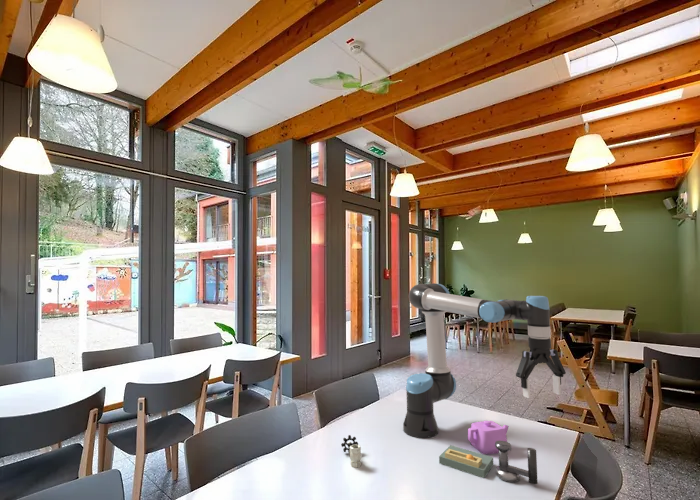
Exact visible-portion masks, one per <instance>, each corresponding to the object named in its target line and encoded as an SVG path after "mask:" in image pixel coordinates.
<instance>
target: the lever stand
mask: <svg viewBox="0 0 700 500" xmlns="http://www.w3.org/2000/svg"><path fill="white" fill-rule="evenodd" d="M438 459H439V460H438V463H439V465H442V466H445V467H449V468H452V469H454V470H458V471H462V472H464V473H468V474H471V475H472V476H477V477H480V478H483V479H485V478H486V476H487V475H488V473H490V470H491V469H492V467H493V466H494V457H493V456H490V455H488V454H482V453H481V452H476V451H472V450H469V449H465V448H462V447H458V446H455V445H451V444H450V445H449V446H448V447H447V448H445V450H444V451H443V452H442V453H441V454H440V455H439V456H438Z"/></svg>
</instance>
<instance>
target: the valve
mask: <svg viewBox="0 0 700 500" xmlns="http://www.w3.org/2000/svg"><path fill="white" fill-rule="evenodd" d="M342 439H343V442H342V443H341V444H340V445H341V447H342V448H343V447H344V448H343V451H342V452H343V453H346V452H348V454H349V459H350V467H351V468H354V469H355V468H359V467H361V466H362V465H361V464H362V463H361V461H362V451H361V450H362V447H361V445H360V444H359V443H358V441H356V440H357V438H356V436H351V434H348V436H347V438H346V437H343V438H342ZM351 441H352V442H351Z"/></svg>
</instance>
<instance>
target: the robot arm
mask: <svg viewBox="0 0 700 500" xmlns="http://www.w3.org/2000/svg"><path fill="white" fill-rule="evenodd" d="M525 298H526V299H525V300H515V299H498V300H497V301H495V300H488V299H483V298H477V297H471V296H470V297H469V296H463V295H458V294H451V293H450V291H449V289H448V288H447V287H446V286H445V285H443V284H441V283H419V284H415V285H413V286H412V288H411V287H410V290H409V293H408V300H409V303H410V305H412V306H413V307H414V308H416V309H418V310H419V309H420V310H421V313H422V314H423V315H424V316H425V317H424V318H425V319H424V320H425V330H426V331H425V332H426V333H425V334H426V349H427V350H426V351H427V365H428V366H427V367H426V368H425V373H415V374H412V375H410V376H408V377H407V379H406V385H405V386H406V389H405V390H406V391H405V392H406V414H405V417H404V420H403V424H402V425H403V427H402V429H403V430H402V431H403V433H405V434H407V435H408V436H411V437H414V438H419V439H420V438H422V439H425V438H432V437H435V436H437V435H438V432H439V426H438V423H437V421H436V417H435V413H434V403H437V402H441V401H442V400H447V399H449V398H450V397H452V396H453V395H454V394H455V392H456V390H457V381H456V378H455V377H454V375H453V374H452V373H451V369H450V368H449V367H448V365H447V352H446V351H447V349H446V337H445V336H446V335H445V333H446V332H445V320H444V318H445V317H444V315H445V313H447V312H448V313H452V314H458V315H462V316H466V317H472V318H477V319H481V320H483V321H484V322H486V323H493V324H494V323H499V322H504V321H510V320H515V321H516V320H517V321H519V320H521V321H526V322H527V336H528V338H527V341H528V347H529V351H527V350H522V352H521V353H522V354H521V359H520V362H519V365H518V367H517V370H516V373H515V377H516V378H519V379H520V384H521V385H520V386H521V388H522V396H523V397H525V398H527V399H531V386H530V383H531V382H530V379H528V378H529V376H530V375H531V373H532V372H533V371H534V369H535V367H536V366H537V365H538V364H546V365H547V367H548V368H549V369H550V371H551V372H552V373H553V374H552V393H553V394H556V395H558V396H562V394H561V393H562V392H561V391H562V390H561V385H562V378H563V377H564V375H566V373H567V372H566V370H565V368H564V366H563V364H562V361H561V359H560V357H559V355H558V353H559V352H558V350H557V349H552V340H551V322H550V318H551V317H550V311H551V310H550V303H549V298H548V297H547V296H545V295H527V296H526V297H525Z"/></svg>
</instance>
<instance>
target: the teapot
mask: <svg viewBox="0 0 700 500" xmlns="http://www.w3.org/2000/svg"><path fill="white" fill-rule="evenodd" d="M508 429H509V426H508V425H507V424H503V426H501V425H500V424H498V423H496V422H495V421H493V420H483V421H476V422H472V423H471V425H470V427H469V428H468V429H467V440H468V441H469V442H470V445H471V446H472V447H473V448H474V449H475V450H477V451H478V453H480V454H483V455H494V454H499V450H498V449H497V448H496V447H495V442H496V441H506V442H508V439H507V438H508V437H507V432H508Z"/></svg>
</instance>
